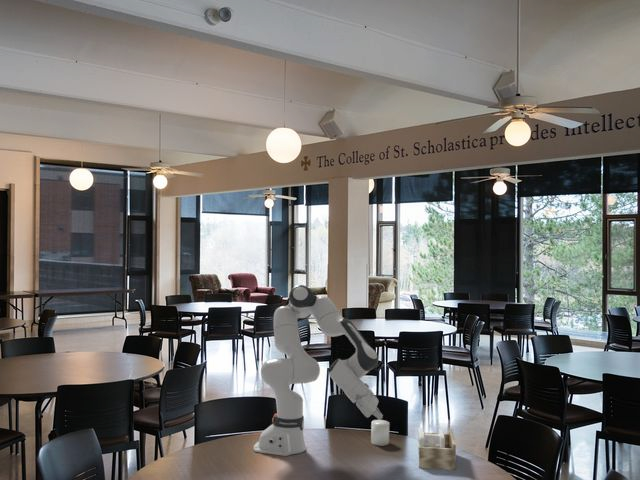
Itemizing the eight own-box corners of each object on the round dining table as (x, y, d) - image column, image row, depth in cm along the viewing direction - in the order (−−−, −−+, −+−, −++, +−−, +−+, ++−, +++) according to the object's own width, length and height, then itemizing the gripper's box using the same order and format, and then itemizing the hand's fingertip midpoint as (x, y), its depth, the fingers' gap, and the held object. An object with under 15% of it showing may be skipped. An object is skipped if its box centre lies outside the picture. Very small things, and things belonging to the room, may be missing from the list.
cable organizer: (444, 467, 243) (445, 438, 243) (418, 465, 244) (418, 436, 244) (442, 454, 258) (443, 427, 258) (417, 453, 259) (417, 425, 259)
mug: (371, 445, 268) (372, 425, 268) (369, 437, 279) (370, 417, 279) (389, 445, 268) (390, 425, 268) (387, 437, 279) (387, 418, 279)
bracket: (419, 467, 242) (419, 442, 242) (418, 450, 262) (418, 427, 262) (455, 470, 240) (455, 444, 240) (452, 452, 260) (452, 429, 260)
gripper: (360, 393, 244) (384, 419, 242) (367, 382, 264) (389, 406, 262) (349, 403, 245) (372, 430, 242) (356, 392, 265) (378, 416, 262)
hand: (381, 418), depth 252 cm, fingers closed
